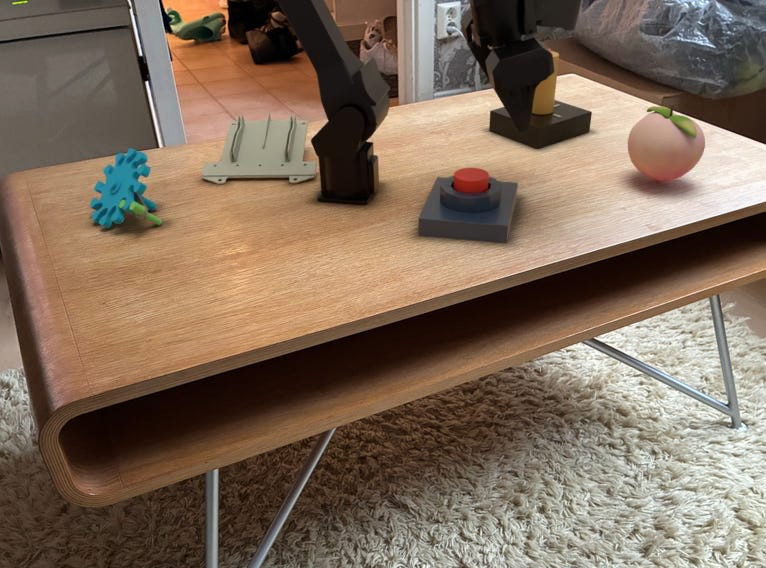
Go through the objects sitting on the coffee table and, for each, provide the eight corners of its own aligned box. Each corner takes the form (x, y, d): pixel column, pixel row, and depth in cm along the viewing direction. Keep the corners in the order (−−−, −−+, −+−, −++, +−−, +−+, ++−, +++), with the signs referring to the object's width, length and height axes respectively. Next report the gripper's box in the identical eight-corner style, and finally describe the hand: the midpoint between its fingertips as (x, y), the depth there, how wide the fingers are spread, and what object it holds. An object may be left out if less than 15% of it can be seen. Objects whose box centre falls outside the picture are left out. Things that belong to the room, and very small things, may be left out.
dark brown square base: (537, 149, 108) (539, 127, 106) (488, 130, 114) (490, 109, 112) (589, 131, 113) (592, 110, 111) (540, 115, 120) (542, 94, 118)
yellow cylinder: (550, 115, 110) (556, 55, 105) (525, 113, 111) (530, 53, 106) (555, 108, 113) (561, 49, 108) (531, 105, 114) (536, 47, 109)
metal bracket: (214, 106, 107) (321, 105, 106) (223, 141, 111) (325, 140, 111) (196, 172, 98) (312, 170, 98) (206, 206, 103) (317, 205, 102)
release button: (485, 196, 86) (486, 182, 85) (450, 194, 87) (451, 179, 86) (490, 182, 89) (490, 168, 88) (456, 180, 90) (456, 166, 89)
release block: (506, 243, 85) (509, 210, 82) (418, 236, 86) (418, 203, 84) (516, 199, 94) (519, 168, 92) (436, 193, 96) (437, 162, 94)
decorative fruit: (606, 178, 99) (617, 100, 93) (652, 165, 102) (666, 89, 96) (660, 203, 92) (676, 122, 86) (707, 189, 96) (726, 109, 90)
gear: (77, 196, 93) (125, 131, 91) (119, 218, 97) (165, 156, 95) (100, 243, 86) (152, 173, 84) (144, 264, 90) (194, 198, 88)
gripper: (598, -28, 71) (609, 128, 81) (545, -68, 85) (559, 68, 95) (482, 7, 71) (507, 157, 82) (448, -39, 86) (473, 93, 96)
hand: (514, 115), depth 88 cm, fingers open, 9 cm apart
